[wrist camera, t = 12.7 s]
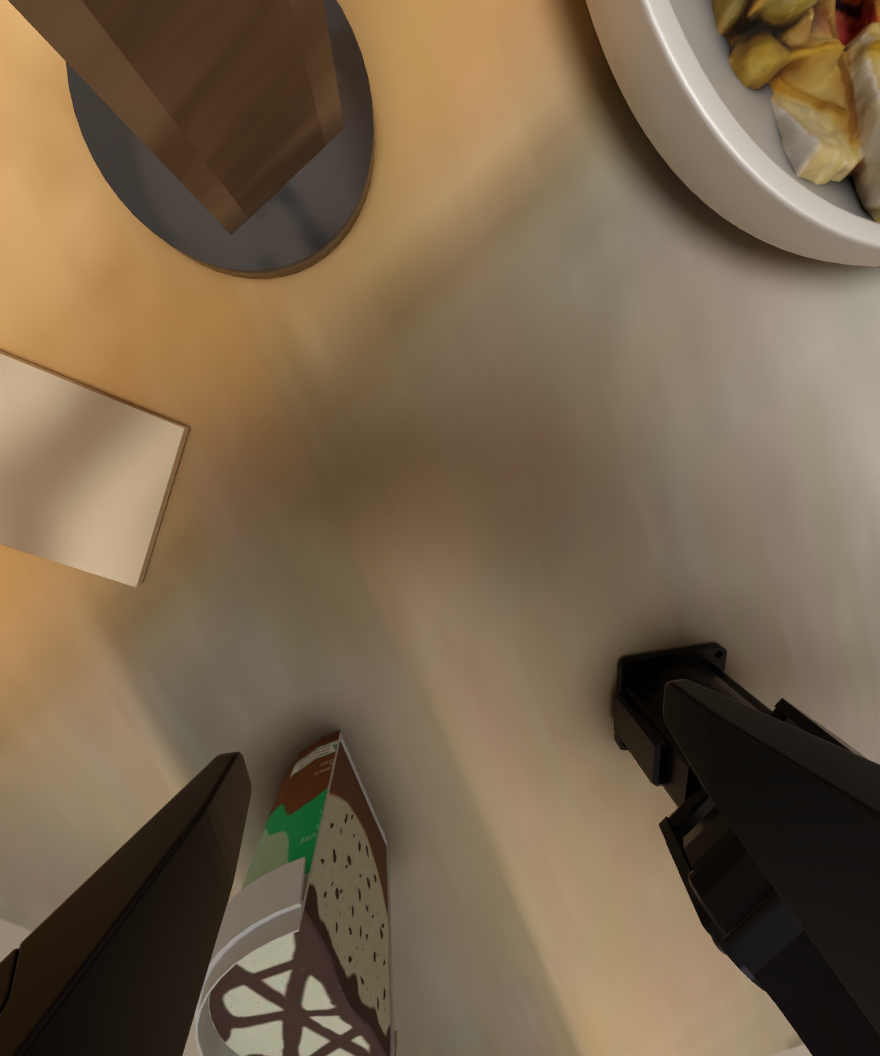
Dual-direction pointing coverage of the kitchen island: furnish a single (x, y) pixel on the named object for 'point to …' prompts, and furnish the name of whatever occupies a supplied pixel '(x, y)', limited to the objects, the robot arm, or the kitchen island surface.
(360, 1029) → the food container
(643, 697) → the robot arm
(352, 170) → the hub
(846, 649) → the kitchen island surface
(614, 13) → the bowl
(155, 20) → the collar
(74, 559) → the cork pad
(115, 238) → the kitchen island surface
